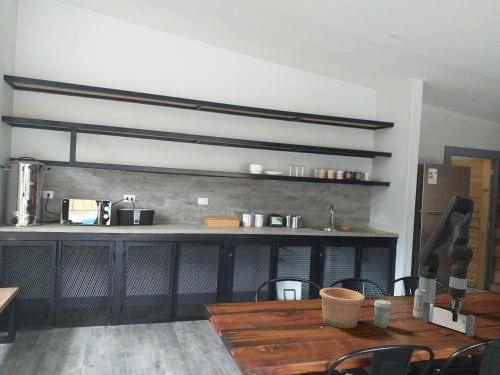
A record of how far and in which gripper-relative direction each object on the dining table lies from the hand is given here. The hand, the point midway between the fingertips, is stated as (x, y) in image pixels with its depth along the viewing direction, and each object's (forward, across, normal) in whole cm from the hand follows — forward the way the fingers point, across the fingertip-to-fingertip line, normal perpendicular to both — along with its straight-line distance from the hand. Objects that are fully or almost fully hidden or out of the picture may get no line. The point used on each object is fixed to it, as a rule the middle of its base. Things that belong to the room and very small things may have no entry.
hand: (454, 321), depth 186 cm
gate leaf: (+5, +4, +4) cm, 7 cm away
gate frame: (+6, +4, +4) cm, 8 cm away
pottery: (+6, -34, +44) cm, 56 cm away
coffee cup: (+6, -21, +28) cm, 36 cm away
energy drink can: (+6, +10, +20) cm, 23 cm away
